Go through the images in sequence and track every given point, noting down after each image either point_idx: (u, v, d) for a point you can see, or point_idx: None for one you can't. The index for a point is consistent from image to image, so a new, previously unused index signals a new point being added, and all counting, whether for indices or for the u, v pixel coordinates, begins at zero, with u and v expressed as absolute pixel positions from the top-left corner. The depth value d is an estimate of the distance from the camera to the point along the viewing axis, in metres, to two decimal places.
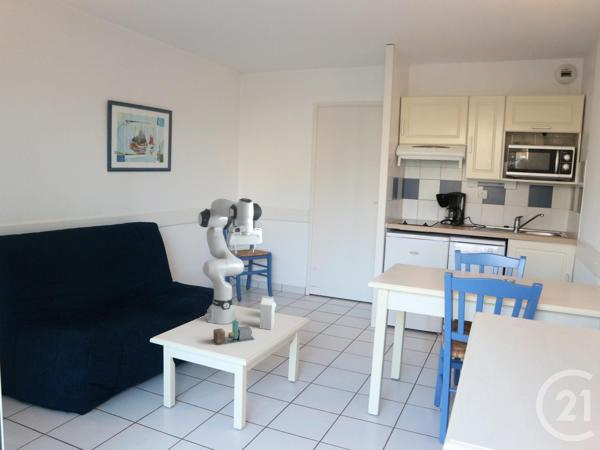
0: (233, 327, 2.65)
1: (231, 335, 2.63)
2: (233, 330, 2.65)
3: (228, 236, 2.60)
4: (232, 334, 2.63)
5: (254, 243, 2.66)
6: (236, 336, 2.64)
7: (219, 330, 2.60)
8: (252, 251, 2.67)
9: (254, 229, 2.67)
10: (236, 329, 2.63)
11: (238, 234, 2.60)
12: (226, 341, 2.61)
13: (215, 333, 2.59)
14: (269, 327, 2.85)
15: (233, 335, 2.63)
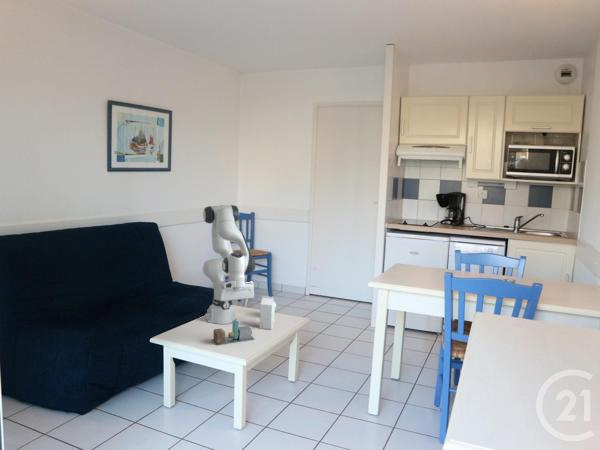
0: (233, 327, 2.65)
1: (231, 335, 2.63)
2: (233, 330, 2.65)
3: (219, 291, 2.57)
4: (232, 334, 2.63)
5: (246, 297, 2.64)
6: (236, 336, 2.64)
7: (219, 330, 2.60)
8: (244, 305, 2.65)
9: (246, 283, 2.64)
10: (236, 329, 2.63)
11: (229, 289, 2.58)
12: (226, 341, 2.61)
13: (215, 333, 2.59)
14: (269, 327, 2.85)
15: (233, 335, 2.63)
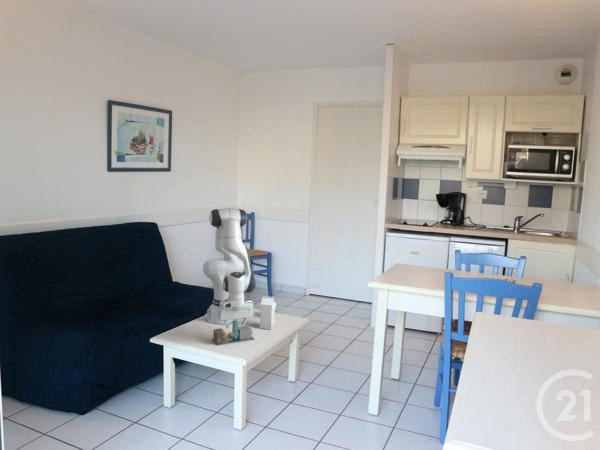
0: (233, 327, 2.65)
1: (231, 335, 2.63)
2: (233, 330, 2.65)
3: (219, 311, 2.59)
4: (232, 334, 2.63)
5: (245, 316, 2.65)
6: (236, 336, 2.64)
7: (219, 330, 2.60)
8: (243, 324, 2.66)
9: (245, 302, 2.66)
10: (236, 329, 2.63)
11: (229, 309, 2.59)
12: (226, 341, 2.61)
13: (215, 333, 2.59)
14: (269, 327, 2.85)
15: (233, 335, 2.63)
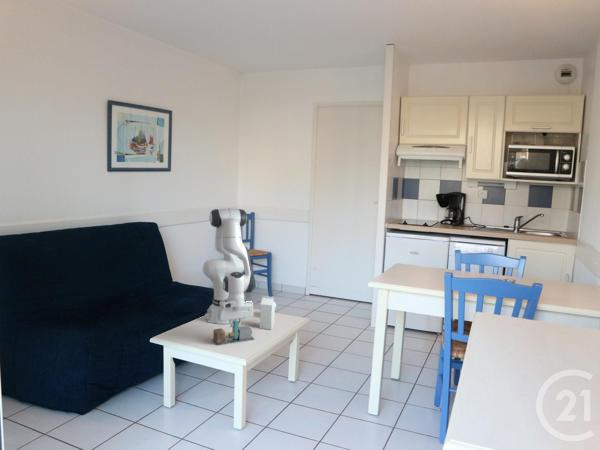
0: (233, 327, 2.65)
1: (231, 335, 2.63)
2: (233, 330, 2.65)
3: (219, 311, 2.59)
4: (232, 334, 2.63)
5: (245, 316, 2.65)
6: (236, 336, 2.64)
7: (219, 330, 2.60)
8: (238, 325, 2.65)
9: (245, 302, 2.66)
10: (236, 329, 2.63)
11: (229, 309, 2.59)
12: (226, 341, 2.61)
13: (215, 333, 2.59)
14: (269, 327, 2.85)
15: (233, 335, 2.63)
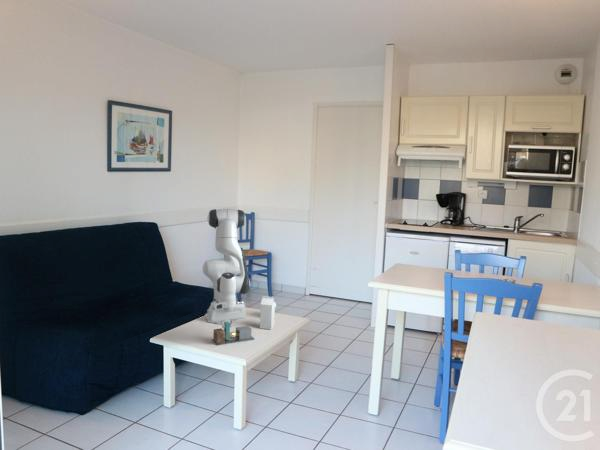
0: (225, 328, 2.62)
1: None
2: (225, 331, 2.62)
3: (210, 312, 2.56)
4: None
5: (237, 317, 2.63)
6: (228, 337, 2.62)
7: (219, 330, 2.60)
8: (230, 326, 2.62)
9: (237, 303, 2.63)
10: (228, 330, 2.61)
11: (220, 310, 2.57)
12: (226, 341, 2.61)
13: (215, 333, 2.59)
14: (269, 327, 2.85)
15: (225, 336, 2.61)
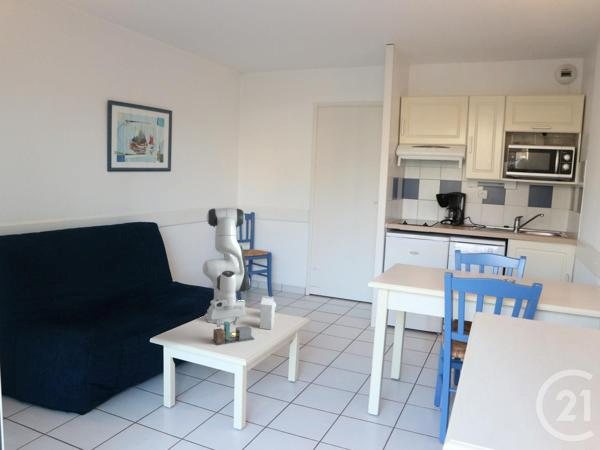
0: (225, 328, 2.62)
1: None
2: (225, 331, 2.62)
3: (210, 310, 2.56)
4: None
5: (237, 315, 2.63)
6: (228, 337, 2.62)
7: (219, 330, 2.60)
8: (235, 323, 2.64)
9: (237, 301, 2.63)
10: (228, 330, 2.61)
11: (220, 308, 2.57)
12: (226, 341, 2.61)
13: (215, 333, 2.59)
14: (269, 327, 2.85)
15: None
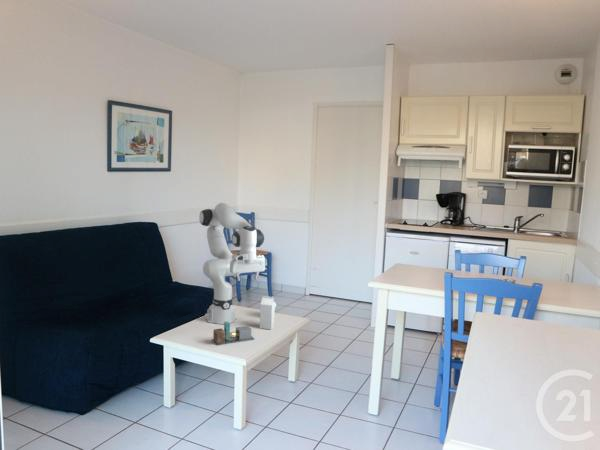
0: (225, 328, 2.62)
1: None
2: (225, 331, 2.62)
3: (231, 264, 2.61)
4: None
5: (257, 270, 2.67)
6: (228, 337, 2.62)
7: (219, 330, 2.60)
8: (255, 278, 2.68)
9: (257, 256, 2.68)
10: (228, 330, 2.61)
11: (241, 262, 2.61)
12: (226, 341, 2.61)
13: (215, 333, 2.59)
14: (269, 327, 2.85)
15: None
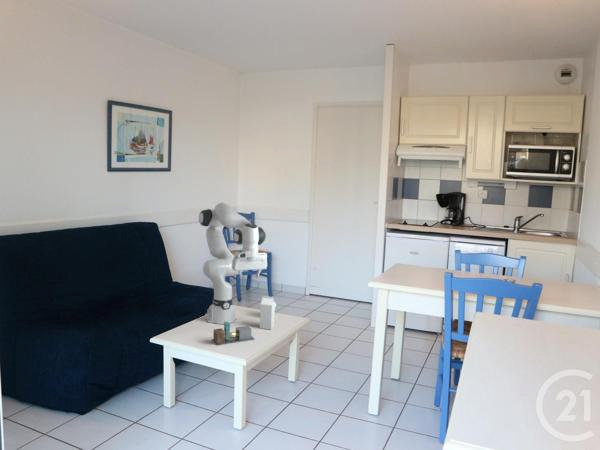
0: (225, 328, 2.62)
1: None
2: (225, 331, 2.62)
3: (233, 261, 2.62)
4: None
5: (259, 268, 2.68)
6: (228, 337, 2.62)
7: (219, 330, 2.60)
8: (257, 276, 2.69)
9: (259, 254, 2.69)
10: (228, 330, 2.61)
11: (243, 259, 2.62)
12: (226, 341, 2.61)
13: (215, 333, 2.59)
14: (269, 327, 2.85)
15: None
